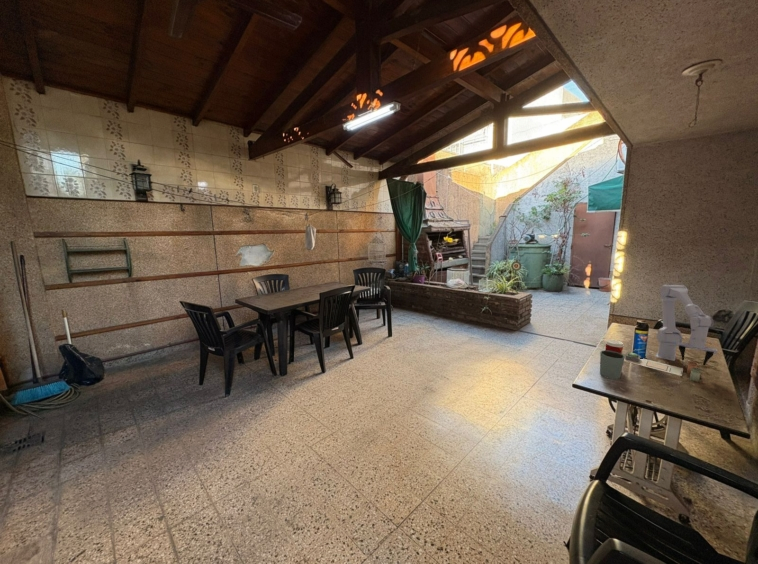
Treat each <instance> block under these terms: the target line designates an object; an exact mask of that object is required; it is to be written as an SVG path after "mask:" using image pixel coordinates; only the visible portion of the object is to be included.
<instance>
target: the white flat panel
mask: <svg viewBox="0 0 758 564" xmlns="http://www.w3.org/2000/svg"><path fill="white" fill-rule="evenodd" d="M624 362H627V363H631V364H634V365H639V366H641V367H642V366H643V367H646V368H650V369H653V370H657V371H662V372H665V373H669V374H672V375H677V376H679V377H680V378H681V377H682V376H683V371H684V368H683V367H679V366H675V365H671V364H667V363H663V362H659V361H655V360H650V359H646V358H643V359H640V361H639V363H637V362H634V361H630V360H626V359H624Z"/></svg>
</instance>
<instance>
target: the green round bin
mask: <svg viewBox="0 0 758 564" xmlns="http://www.w3.org/2000/svg"><path fill="white" fill-rule="evenodd" d="M599 356H600V360H599V363H600V365H599V374H600V375H601V376H602V377H604V378H607V379H610V380H620V378H621V376H622V370H623V366H624V362H625V361H624V359H625V356H626V355H624V354H620V353H618V352H614V351H606V350H600V353H599Z"/></svg>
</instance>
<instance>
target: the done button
mask: <svg viewBox="0 0 758 564" xmlns="http://www.w3.org/2000/svg"><path fill="white" fill-rule="evenodd" d="M628 353H629V356H631V357H636V358H637V355H638V354H637V353H634V352H628Z"/></svg>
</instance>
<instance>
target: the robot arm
mask: <svg viewBox="0 0 758 564" xmlns="http://www.w3.org/2000/svg"><path fill="white" fill-rule="evenodd" d="M688 293H689V290H688V288H687V286H686V285H684V284H680V285H679V284H678V285H677V284H663V285H662V286H661V287H660V288H659V294H660V297H659V298H660V299H661V307H662V327H661V328H659V329H657V334H656V341H658V342H659V345H658V349H657V350H658V351H657V353H656V355H655V357H656V358H660V359H664V360H668V361H672V362H673V361H674V362H675V361H676V358H677V357H676V353H677V347H678V350H679V352H680V354H681V361H682V362H683V361H685V352H686V349H687V348H688V349H691V350H696V351H701V352H705V356H704V359H703V362H702V365H703V366H706V363H707V362H708V361H709V360H710V359H711V358H712V357H713V356H714V355H718V349H716V348H711V347H707V346H706V344H707V343H706V342H707V337H708V333H709V328H712V326H714V319H713V317H711V316H709V315H707V314H705V312H703V310H702V309H701V307H700V306H699V305H697V304H694V303H693V301H692V299H691V298H690V296H689V294H688ZM676 300H678V301H679V302H680V303H681V305H683V306H684V309H683V310H684V311H685V313H686V315H687V316H688V317H689V323H690V329H691V331H690V335H689V340H688V342H683V336H682V332H681V331H680V330H679V329H678V328H676V312H675V310H676V307H675V301H676Z"/></svg>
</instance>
